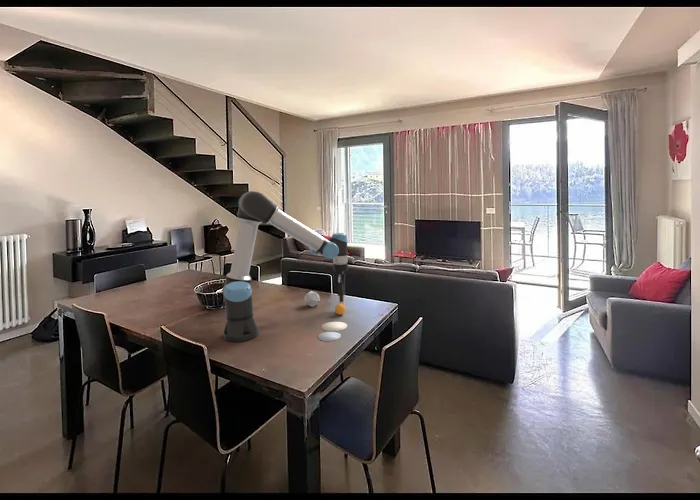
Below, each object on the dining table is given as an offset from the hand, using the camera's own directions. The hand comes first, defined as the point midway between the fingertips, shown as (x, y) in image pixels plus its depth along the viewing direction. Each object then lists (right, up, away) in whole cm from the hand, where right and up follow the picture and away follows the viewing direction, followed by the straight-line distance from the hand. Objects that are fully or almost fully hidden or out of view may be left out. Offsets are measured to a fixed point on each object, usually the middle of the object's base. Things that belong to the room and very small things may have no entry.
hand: (342, 307), depth 202 cm
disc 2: (-5, -8, -35) cm, 36 cm away
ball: (-1, 0, -7) cm, 7 cm away
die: (-17, -1, +10) cm, 19 cm away
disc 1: (-3, -6, -23) cm, 24 cm away
